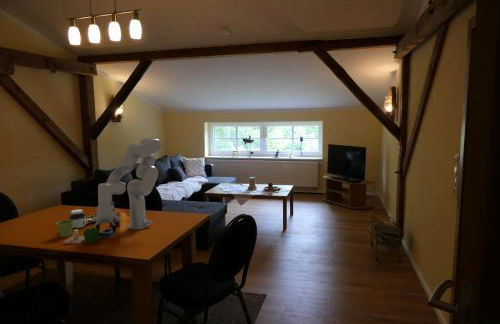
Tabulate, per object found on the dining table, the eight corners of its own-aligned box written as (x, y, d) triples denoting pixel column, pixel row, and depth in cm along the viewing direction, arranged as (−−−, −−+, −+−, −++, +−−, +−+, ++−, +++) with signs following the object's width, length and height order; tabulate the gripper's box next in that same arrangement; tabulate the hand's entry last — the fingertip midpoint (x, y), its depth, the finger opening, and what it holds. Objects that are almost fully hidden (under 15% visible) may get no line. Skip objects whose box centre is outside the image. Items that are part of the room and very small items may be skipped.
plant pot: (62, 239, 195) (61, 225, 194) (54, 236, 200) (53, 222, 199) (78, 234, 203) (77, 221, 202) (69, 232, 208) (68, 218, 206)
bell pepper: (98, 244, 186) (97, 227, 185) (82, 245, 184) (81, 228, 183) (101, 239, 194) (100, 222, 193) (86, 240, 192) (85, 224, 191)
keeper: (89, 237, 197) (88, 227, 196) (80, 243, 187) (79, 232, 186) (72, 237, 197) (71, 227, 196) (63, 243, 187) (62, 232, 186)
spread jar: (77, 230, 210) (76, 213, 209) (62, 229, 212) (61, 212, 211) (90, 225, 222) (89, 208, 220) (75, 224, 224) (74, 207, 223)
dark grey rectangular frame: (115, 233, 204) (115, 228, 204) (110, 238, 196) (109, 232, 196) (105, 233, 204) (105, 228, 204) (99, 238, 196) (99, 233, 196)
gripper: (122, 202, 201) (122, 229, 203) (94, 202, 201) (94, 229, 203) (117, 205, 194) (117, 233, 195) (88, 205, 194) (88, 233, 195)
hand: (106, 231), depth 199 cm, fingers open, 9 cm apart
